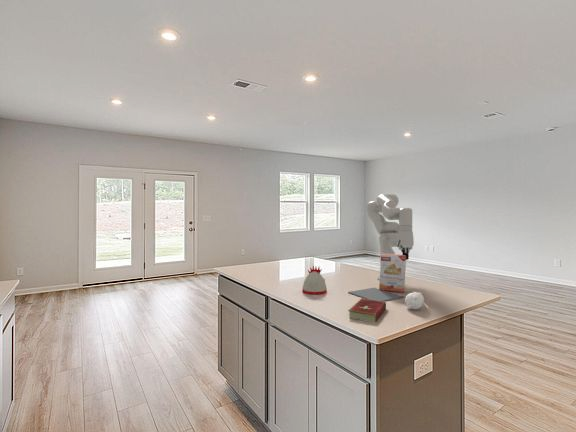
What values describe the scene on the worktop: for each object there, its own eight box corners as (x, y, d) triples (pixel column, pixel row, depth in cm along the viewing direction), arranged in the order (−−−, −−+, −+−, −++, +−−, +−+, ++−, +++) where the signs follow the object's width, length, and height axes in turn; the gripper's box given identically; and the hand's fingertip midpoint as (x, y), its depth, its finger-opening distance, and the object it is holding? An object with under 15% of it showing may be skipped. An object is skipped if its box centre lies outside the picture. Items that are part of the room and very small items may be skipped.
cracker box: (379, 290, 187) (380, 254, 187) (379, 287, 192) (380, 253, 192) (404, 292, 183) (406, 255, 183) (404, 290, 188) (405, 254, 188)
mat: (374, 288, 193) (374, 287, 193) (403, 297, 174) (403, 296, 174) (348, 292, 183) (348, 291, 183) (376, 302, 164) (376, 301, 164)
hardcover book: (386, 309, 154) (386, 301, 154) (375, 323, 136) (375, 314, 136) (361, 306, 160) (361, 297, 160) (348, 319, 142) (348, 309, 141)
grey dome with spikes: (325, 295, 178) (325, 268, 177) (300, 294, 181) (300, 267, 180) (327, 289, 191) (327, 264, 191) (304, 288, 194) (304, 263, 194)
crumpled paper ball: (416, 285, 161) (409, 290, 151) (435, 300, 156) (430, 305, 146) (406, 299, 164) (399, 304, 154) (424, 313, 159) (418, 319, 149)
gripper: (408, 228, 199) (408, 257, 199) (391, 228, 191) (391, 259, 192) (419, 228, 192) (419, 259, 192) (401, 229, 185) (401, 261, 185)
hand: (405, 259), depth 192 cm, fingers closed
